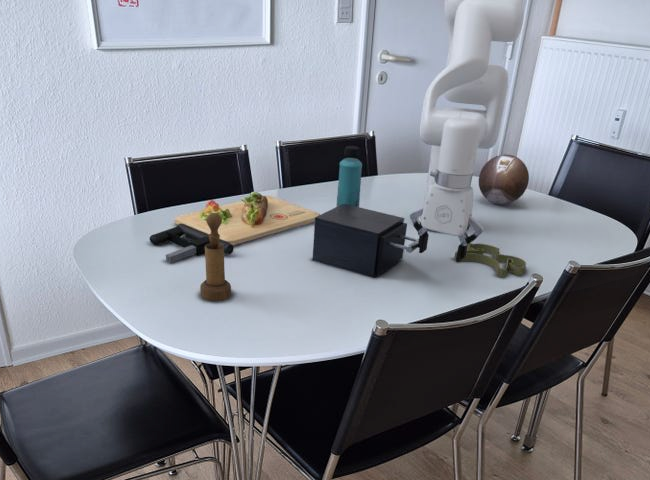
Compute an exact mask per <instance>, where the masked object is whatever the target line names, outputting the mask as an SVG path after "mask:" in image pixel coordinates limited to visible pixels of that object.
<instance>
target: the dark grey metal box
mask: <svg viewBox="0 0 650 480" xmlns="http://www.w3.org/2000/svg"><path fill="white" fill-rule="evenodd" d="M401 223H405V217H401V216H397V215H393V214H389V213H384V212H381V211H376V210H371V209H368V208H364V207H360V206H359V207H356V206H352V205H347V204H342V205H340V206H338V207H337V206H335V207H334V208H331V209H330V210H328V211H324V212H323V213H320V215H319V216H317V217H315V221H314V227H313V228H314V229H313V243H312V244H313V246H312V261H315V262H318V263H322V264H325V265H327V266H328V265H329V266H332V267H335V268H339V269H342V270H346V271H349V272H352V273H356V274H360V275H362V276H367V277H370V278H375V277H376V276H379V274H377V273H375V271H376V262H377V253H378V245H379V237H380V236H381V235H382V234H384V233H386V232H387V231H389V230H391V229H392V228H394V227H396V226H398V225H400V224H401Z"/></svg>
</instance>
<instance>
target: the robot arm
mask: <svg viewBox="0 0 650 480" xmlns="http://www.w3.org/2000/svg"><path fill="white" fill-rule="evenodd" d="M443 6H444V7H443V10H444V11H443V12H444V18H445V23H446V29H447V34H448V51H447V58H446V65H445V68H444V69H443V70H441V71H440V72H439V73H438V74H437V75H436V77H434V79H433V80H432V81H431V83H430V85H428V87H427V90H426V91H425V95H424V97H423V102H422V110H421V116H420V123H419V136H420V140H421V142H423V143H424V144H425V145H428V146H431V149H430V158H429V166H428V172H427V179H426V186H425V193H424V200H423V206H422V208H421V209H418V210H416V211H414V212H411V213H410V214H409V218H410V219H411V223H412V225H413V228H414V229H415V230H416V232H417V235H418V236H419V237H418V239H419V242H418V248H417V249H418V254H423V253H424V252H425V251H427V250H428V243H429V237H430V235H429V232H428V231H432V232H435V233H441V234H445V235H449V236H454V237H458V241H459V242H460V244H459V245H457V246H458V247H457V251H456V252H457V257H456V260H455V262H456V263H460V262H462V261H461V260H462V259H464V258H465V256H466V252H467V247H468V244H469V243H472V242H474V241H475V240H476V239H478V238H479V236H480V235H481V234H483V232H484V231H485V228H484V227H483V226H482V225H481V224H480V223H479V221H477V220H476V219H475V218H474V216H473V207H474V188H473V186H471V185H472V180H473V175H474V169H475V163H476V158H477V152H478V149H481V150H489V149H492V148H493V147H495V145H496V144H497V141H498V138H499V135H500V130H501V125H502V120H503V116H504V110H505V104H506V100H507V95H508V87H509V73H508V70H507V69H506V68H505V67H503V66H501V65H497V64H490V55H491V48H492V42H499V43H500V42H501V43H513V42H515V41H516V40H518V37H519V36H520V34H521V31H522V28H523V24H524V17H525V16H524V14H525V7H524V6H525V5H524V1H523V0H444V5H443ZM442 95H443V96H444V98H445V100H447V101H448V102H451V103H456V104H463V105H474V106H475V105H476V106H483V107H485V109H473V108H465V107H444V108H436V104H437V102H438V99H439V98H440V97H441V96H442ZM470 228H472V229H473V230H474V232H473V233H472V234H470V235H469V233H468V231H469V230H470Z"/></svg>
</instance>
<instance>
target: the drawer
mask: <svg viewBox="0 0 650 480" xmlns="http://www.w3.org/2000/svg"><path fill="white" fill-rule="evenodd" d="M407 228H408V223H407V222H404V223H401V224H400V225H398V226H396V227H394V228H392V229H391V230H389V231H387V232H386V233H384V234H382V235H381V236H380V237H379V245H378V253H377V262H376V271H375V273H377V274H378V275H381V274H382V273H384V272H385V271H387V270H388V269H389V268H391V267H393V265H395V264H397V263H398V262H400V261H401V260H403V257H404V251H406V253H409V254H411V253H412V252H414V251H415V250H417V249H419V248H418V242H419V238H415V237H410V236H407ZM406 241H411V243H410V244H409V245H405V244H406V243H405V242H406Z"/></svg>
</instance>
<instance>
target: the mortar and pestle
mask: <svg viewBox="0 0 650 480" xmlns="http://www.w3.org/2000/svg"><path fill="white" fill-rule="evenodd" d="M221 222H222V219H221V217H220V215H219V214H217V213H210V214H209V215H208V216H207V224H208V226H209V228H210V230H211V233H210V234H209V240H210V243H209V244H206V245H205V254H204V256H205V259H204V260H205V262H204V263H205V280H204V281H203V282H201V284H200V286H199V287H200V288H199V290H200V291H199V292H200V297H201V298H202V299H203V300H205V301H208V302H223V301H226V300H228V299H229V298H231V296H232V285H231V283H230V282H229V281H228V280H227V279H226V276H225V273H226V271H225V254H224V245H222V244H219V239H220V235H219V234H218V228H219V227H220V225H221Z"/></svg>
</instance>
